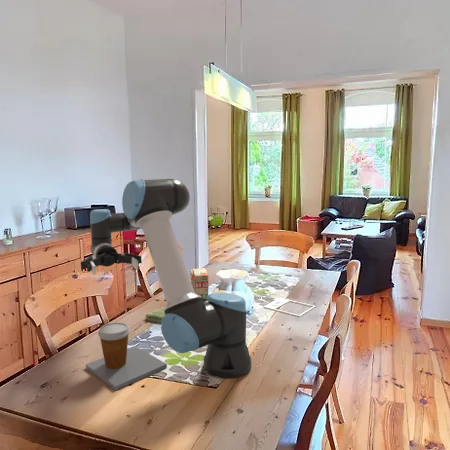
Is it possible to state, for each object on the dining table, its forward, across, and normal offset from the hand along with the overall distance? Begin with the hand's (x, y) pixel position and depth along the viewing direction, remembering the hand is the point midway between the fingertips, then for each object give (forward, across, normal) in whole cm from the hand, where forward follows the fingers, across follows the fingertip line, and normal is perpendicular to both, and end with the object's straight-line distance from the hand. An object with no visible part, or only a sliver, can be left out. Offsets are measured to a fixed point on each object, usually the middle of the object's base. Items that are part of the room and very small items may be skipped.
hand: (116, 267), depth 131 cm
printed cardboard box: (-48, -47, -30) cm, 74 cm away
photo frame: (-12, -76, -31) cm, 83 cm away
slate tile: (+10, 0, -30) cm, 32 cm away
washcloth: (-24, -25, -31) cm, 46 cm away
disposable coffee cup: (+8, +3, -29) cm, 30 cm away
